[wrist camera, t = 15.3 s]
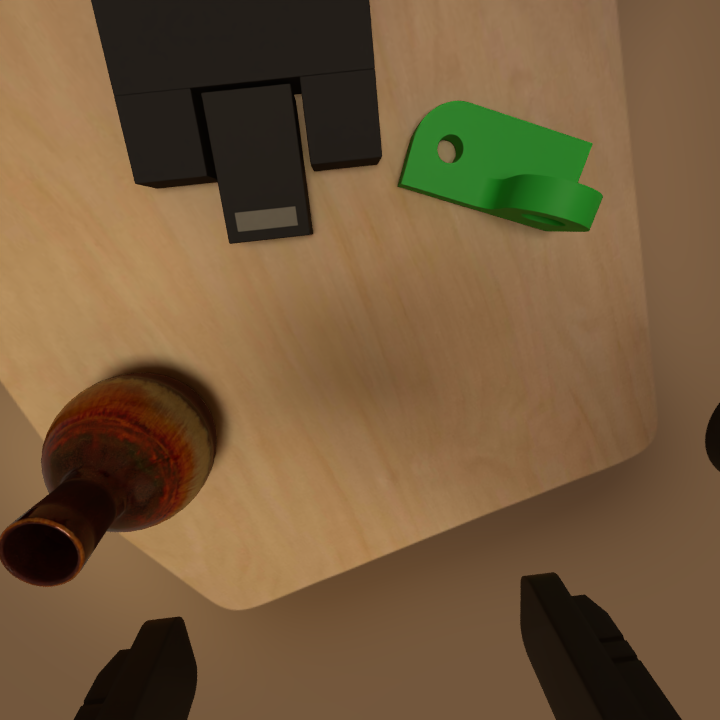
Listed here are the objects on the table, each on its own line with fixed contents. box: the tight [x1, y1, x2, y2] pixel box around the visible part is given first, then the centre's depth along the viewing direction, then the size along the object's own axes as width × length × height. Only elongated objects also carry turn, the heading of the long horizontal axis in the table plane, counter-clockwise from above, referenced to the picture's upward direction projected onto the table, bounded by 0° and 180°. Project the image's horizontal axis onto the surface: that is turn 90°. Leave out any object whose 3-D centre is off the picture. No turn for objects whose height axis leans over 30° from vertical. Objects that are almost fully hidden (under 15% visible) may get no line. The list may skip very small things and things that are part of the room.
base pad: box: [91, 0, 382, 188], centre depth 28 cm, size 16×14×4 cm
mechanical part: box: [398, 101, 603, 232], centre depth 28 cm, size 12×6×8 cm, turn 75°
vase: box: [0, 373, 216, 587], centre depth 29 cm, size 11×11×15 cm
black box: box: [201, 84, 313, 244], centre depth 30 cm, size 6×9×4 cm, turn 6°
